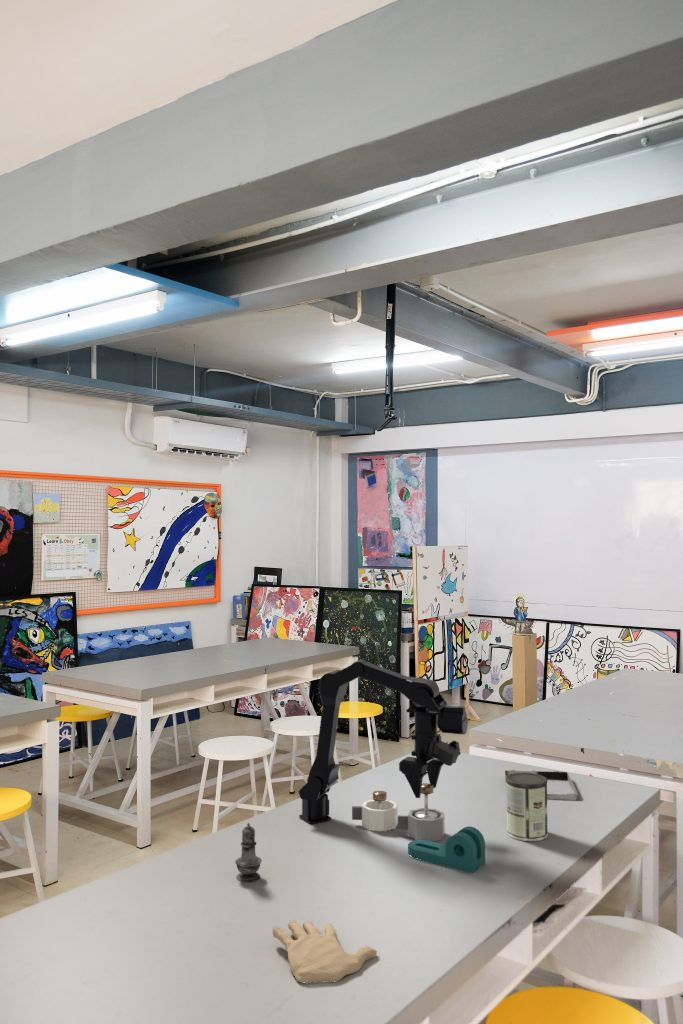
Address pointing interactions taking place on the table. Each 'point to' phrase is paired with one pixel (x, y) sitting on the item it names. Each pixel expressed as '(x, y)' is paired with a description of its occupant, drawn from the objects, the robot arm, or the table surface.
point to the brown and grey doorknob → (379, 797)
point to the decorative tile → (553, 776)
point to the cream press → (377, 815)
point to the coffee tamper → (426, 803)
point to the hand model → (319, 953)
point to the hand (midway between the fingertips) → (425, 792)
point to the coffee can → (527, 806)
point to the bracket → (453, 850)
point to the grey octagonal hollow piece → (423, 825)
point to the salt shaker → (248, 857)
